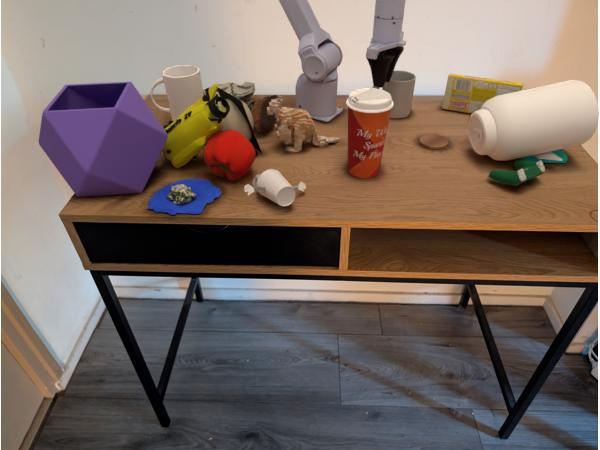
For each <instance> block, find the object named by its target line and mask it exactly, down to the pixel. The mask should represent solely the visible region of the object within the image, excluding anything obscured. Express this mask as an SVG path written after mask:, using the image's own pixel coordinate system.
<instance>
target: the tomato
mask: <svg viewBox="0 0 600 450" xmlns="http://www.w3.org/2000/svg"><path fill="white" fill-rule="evenodd" d="M256 155H257V153H256V149H255V148H254V147H253V145H252V143H251V142H249V141H248V140H247V139H246V138H245V137H244V136H243V135H242V134H241V133H239V132H237V131H234V130H226V131H218V132H217V133H215V134H214V135H213V136H212V137H211V138H210V140H209V141H208V142H207V144H206V146H205V147H204V152H203V159H204V162H205V164H206V165H208V169H209V170H210V172H211V173H212V174H213V175H215V176H216V177H221V178H223V177H226V178H227V180H228V181H230V182H232V181H235V180H239V179H240V178H242V177H243V176H244V175H246V174H247V173H248V172H249V170H250V169H251V168H252V165H253V164H254V161H255V159H256Z"/></svg>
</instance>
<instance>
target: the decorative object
mask: <svg viewBox="0 0 600 450" xmlns="http://www.w3.org/2000/svg"><path fill="white" fill-rule="evenodd" d="M217 90H218V93H219V95H220V97H223V98H224V99H225V100H226V101H227V102H228V104H229V106H230V111H229V113H228V115H227V116H226V117H225V118H224V121H223V123H222V125H221V126H220V128H219V129H218V131H226V130H234V131H237V132H239V133H241V134H242V135H243V136H244V137H245V138H246V139H247V140H248V141H249V142H251V143H252V145H253V147H254V149H255V151H257V152H258V153H260V154H263V152H262V149H261V147H260V144H259V141H258V139H257V136H256V133H255V131H254V130H255V129H254V128H255V123H254V119H253V115H252V114H251V111H250V109H249V108H248V106H247V105H246V104H245V103H244V102H243V101H241V100H239V99H237V98H235V97H234V96H232V95H230V94H229V93H227V92H225V91H224V90H222V89H220V88H218V89H217ZM215 103H216V101H215ZM218 105H220V102H218ZM222 107H223V105H222ZM218 131H217V132H218ZM217 132H216V133H217Z"/></svg>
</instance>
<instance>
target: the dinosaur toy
mask: <svg viewBox="0 0 600 450" xmlns="http://www.w3.org/2000/svg"><path fill="white" fill-rule="evenodd" d="M277 101H279V102H277ZM283 103H284V100H283V99H282V95H279V94H278V98H276V99H272V100H271V102H269V107H267V113H268V115H273V113H275V118H277V120H276V123H275V124H274V126H273V127H274V131H275V132H276V138H277V139H281V134H283V132H285V131H286V130H285V129H288V130H290V134H291V135H290V137H291V138H290V139H286V140H282V141H281V144H282V146H283V147H284V148H283V149H284V153H285V154H288V153H289V154H290V153H298V152H299V153H300V152H301V151H302V150H303V149H302V147H303V146H302V145H303V141H306V140H307V139H309V140H310V142H311V145H313V146H316V147H319V148H325V147H328V146H329V143H330V144H331V143H336V142H339V141H340V137H335V136H330V137H329V136H328V137H326V135H319V134H318V130H317V128H316V124H315V122H314V120H313V119H312V118H311V116H310V115H309V113H308V112H307V111H306V110H302V109H296V107H295V108H294V107H293V108H292V106H291V107H287V106H281V104H283Z"/></svg>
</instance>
